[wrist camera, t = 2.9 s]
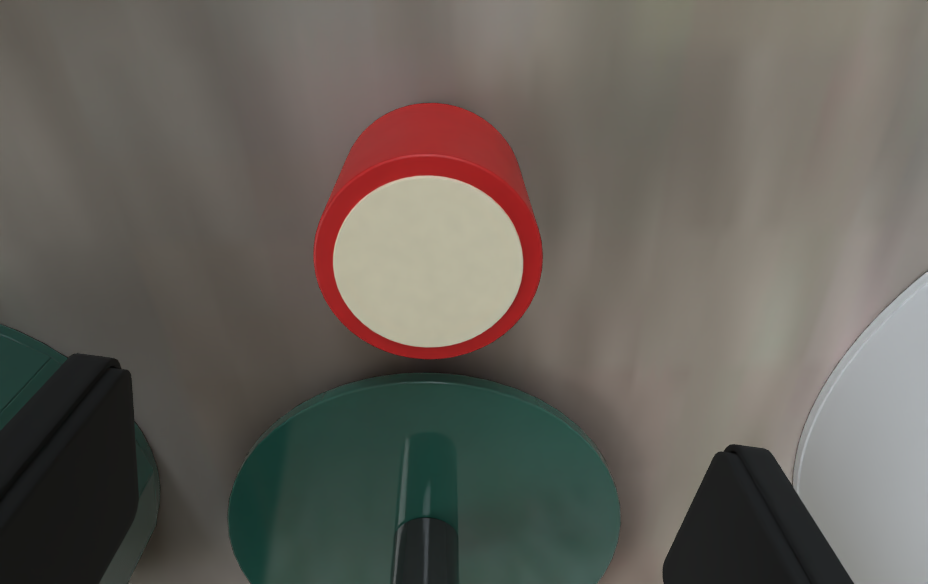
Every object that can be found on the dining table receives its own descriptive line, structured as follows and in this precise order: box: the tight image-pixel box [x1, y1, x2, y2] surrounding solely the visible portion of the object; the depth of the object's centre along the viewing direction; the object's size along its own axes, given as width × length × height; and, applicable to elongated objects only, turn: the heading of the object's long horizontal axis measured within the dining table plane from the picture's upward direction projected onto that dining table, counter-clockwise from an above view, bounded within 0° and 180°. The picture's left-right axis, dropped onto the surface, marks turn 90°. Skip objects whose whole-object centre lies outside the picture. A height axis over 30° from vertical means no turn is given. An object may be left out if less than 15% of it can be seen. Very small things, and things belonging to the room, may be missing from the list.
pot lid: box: [227, 372, 621, 584], centre depth 24 cm, size 16×16×6 cm
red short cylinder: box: [314, 103, 543, 359], centre depth 18 cm, size 6×6×5 cm
